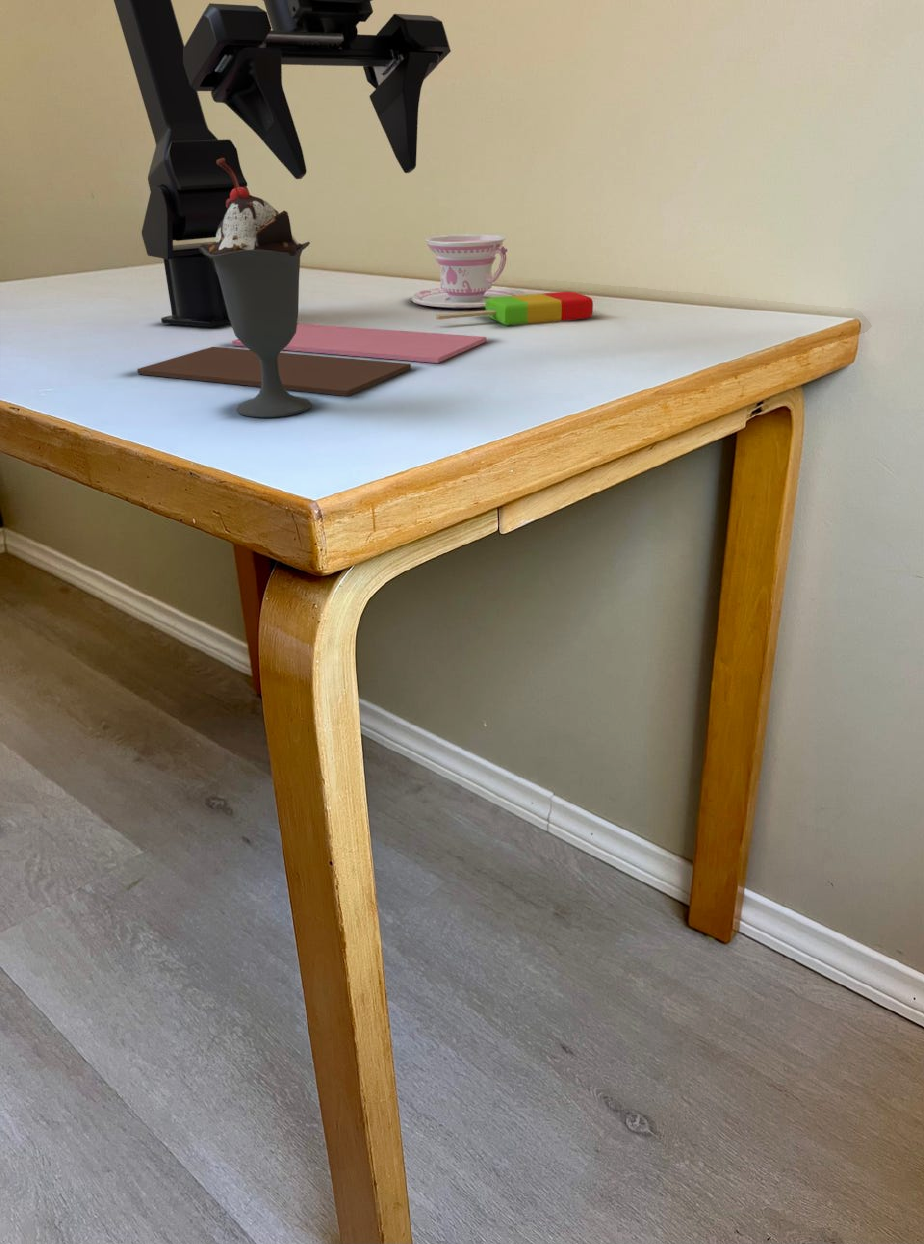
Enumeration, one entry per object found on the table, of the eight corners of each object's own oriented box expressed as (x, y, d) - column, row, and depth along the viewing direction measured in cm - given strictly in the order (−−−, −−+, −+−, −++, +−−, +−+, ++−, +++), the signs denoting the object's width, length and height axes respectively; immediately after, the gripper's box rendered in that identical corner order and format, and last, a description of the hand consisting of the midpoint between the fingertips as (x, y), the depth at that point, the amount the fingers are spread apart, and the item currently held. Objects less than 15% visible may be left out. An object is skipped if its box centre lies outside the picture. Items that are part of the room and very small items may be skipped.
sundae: (228, 397, 67) (196, 157, 60) (326, 393, 67) (305, 154, 60) (215, 423, 61) (177, 160, 54) (321, 418, 61) (298, 156, 55)
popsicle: (597, 318, 91) (598, 297, 90) (445, 331, 87) (444, 310, 86) (572, 309, 96) (573, 290, 95) (427, 322, 91) (426, 301, 91)
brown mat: (137, 374, 74) (136, 368, 74) (213, 351, 81) (212, 346, 81) (348, 396, 67) (347, 390, 66) (411, 368, 74) (411, 363, 73)
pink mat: (232, 345, 83) (231, 340, 83) (292, 327, 90) (292, 322, 90) (438, 363, 75) (437, 357, 75) (486, 341, 82) (486, 336, 82)
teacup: (387, 304, 101) (384, 241, 98) (454, 289, 109) (453, 230, 107) (483, 314, 94) (483, 246, 92) (546, 296, 103) (547, 234, 100)
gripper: (204, -159, 55) (289, 118, 57) (460, -120, 65) (525, 114, 67) (148, -35, 64) (222, 200, 66) (380, -17, 74) (439, 185, 76)
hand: (358, 173), depth 69 cm, fingers open, 9 cm apart
